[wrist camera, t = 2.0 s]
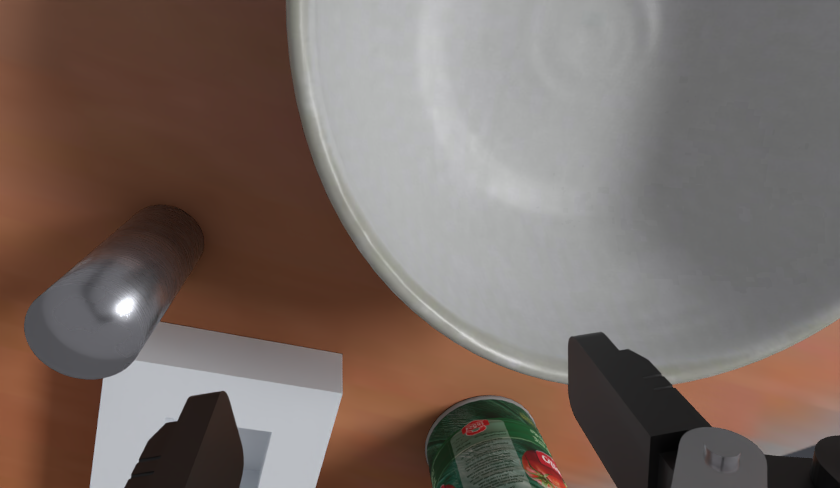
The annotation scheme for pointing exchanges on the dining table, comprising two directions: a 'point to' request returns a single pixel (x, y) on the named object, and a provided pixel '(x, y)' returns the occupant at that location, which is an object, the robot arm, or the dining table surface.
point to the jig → (249, 396)
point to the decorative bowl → (585, 169)
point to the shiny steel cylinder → (115, 295)
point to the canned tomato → (489, 447)
